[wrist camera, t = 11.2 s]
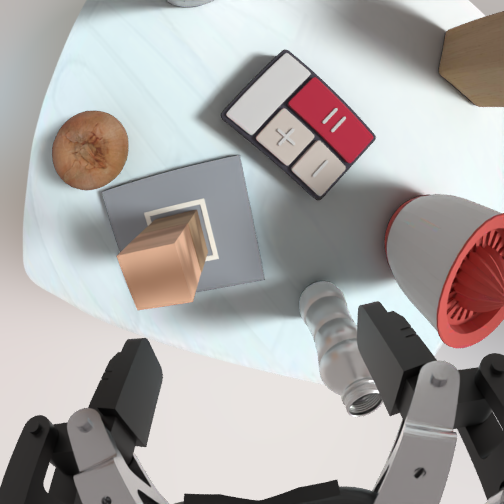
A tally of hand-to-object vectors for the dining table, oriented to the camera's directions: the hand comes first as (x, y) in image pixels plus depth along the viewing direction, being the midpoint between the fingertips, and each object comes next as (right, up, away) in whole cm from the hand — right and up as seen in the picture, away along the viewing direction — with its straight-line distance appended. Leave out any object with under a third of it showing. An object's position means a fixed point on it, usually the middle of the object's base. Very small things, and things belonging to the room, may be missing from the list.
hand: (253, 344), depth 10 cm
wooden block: (+33, +32, +17) cm, 49 cm away
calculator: (+5, +19, +22) cm, 29 cm away
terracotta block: (-9, +3, +19) cm, 21 cm away
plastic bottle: (+9, -3, +30) cm, 31 cm away
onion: (-19, +17, +21) cm, 33 cm away
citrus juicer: (+25, +6, +27) cm, 37 cm away
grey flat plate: (-9, +6, +26) cm, 28 cm away
